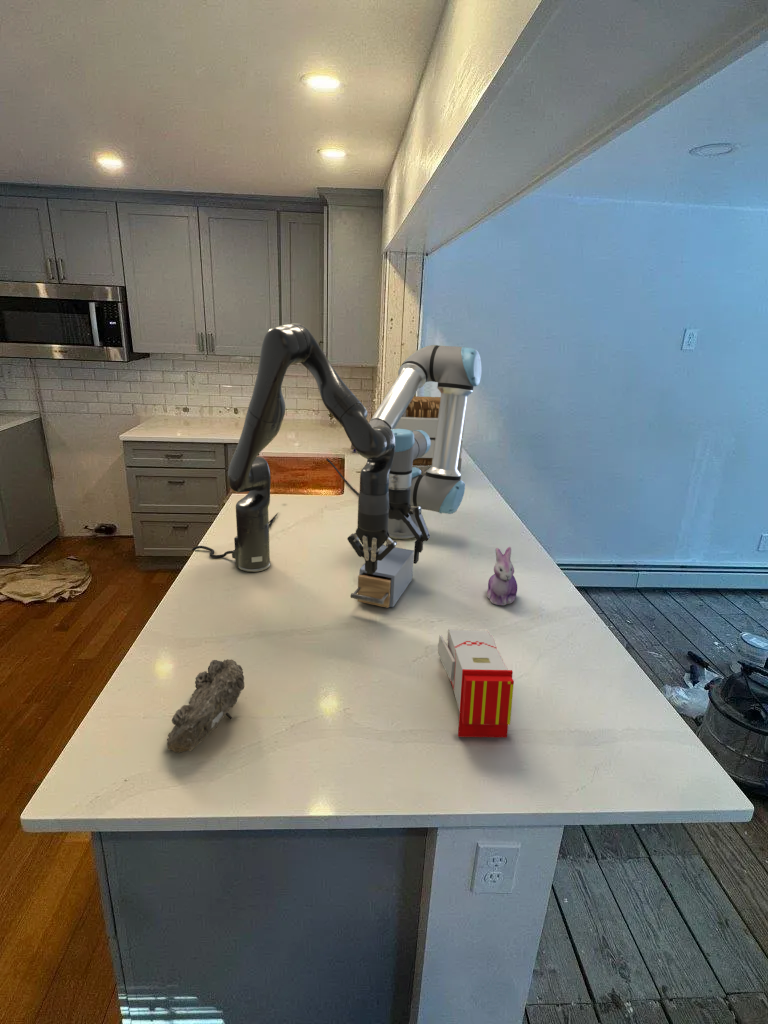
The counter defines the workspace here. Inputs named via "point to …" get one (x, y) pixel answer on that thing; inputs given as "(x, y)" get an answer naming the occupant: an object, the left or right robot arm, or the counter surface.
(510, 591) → the figurine
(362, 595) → the drawer
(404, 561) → the cabinet
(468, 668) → the toy
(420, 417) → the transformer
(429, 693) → the counter surface
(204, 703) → the fossil
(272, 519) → the feather
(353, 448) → the figurine character
